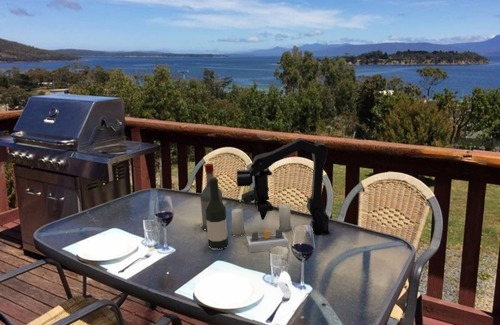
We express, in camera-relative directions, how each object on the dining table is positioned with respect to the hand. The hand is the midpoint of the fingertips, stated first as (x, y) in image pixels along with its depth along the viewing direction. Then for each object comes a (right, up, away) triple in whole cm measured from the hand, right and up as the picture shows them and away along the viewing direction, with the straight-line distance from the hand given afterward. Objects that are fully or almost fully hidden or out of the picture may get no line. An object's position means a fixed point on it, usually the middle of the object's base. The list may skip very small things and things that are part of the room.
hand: (262, 219), depth 182 cm
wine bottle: (-19, -11, -6) cm, 22 cm away
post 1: (-10, -7, +4) cm, 13 cm away
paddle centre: (+2, -7, -9) cm, 11 cm away
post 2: (+10, -5, +7) cm, 13 cm away
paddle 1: (-3, -7, -9) cm, 12 cm away
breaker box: (+2, -10, -8) cm, 13 cm away
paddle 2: (+7, -6, -8) cm, 12 cm away
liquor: (-22, -6, +13) cm, 26 cm away
